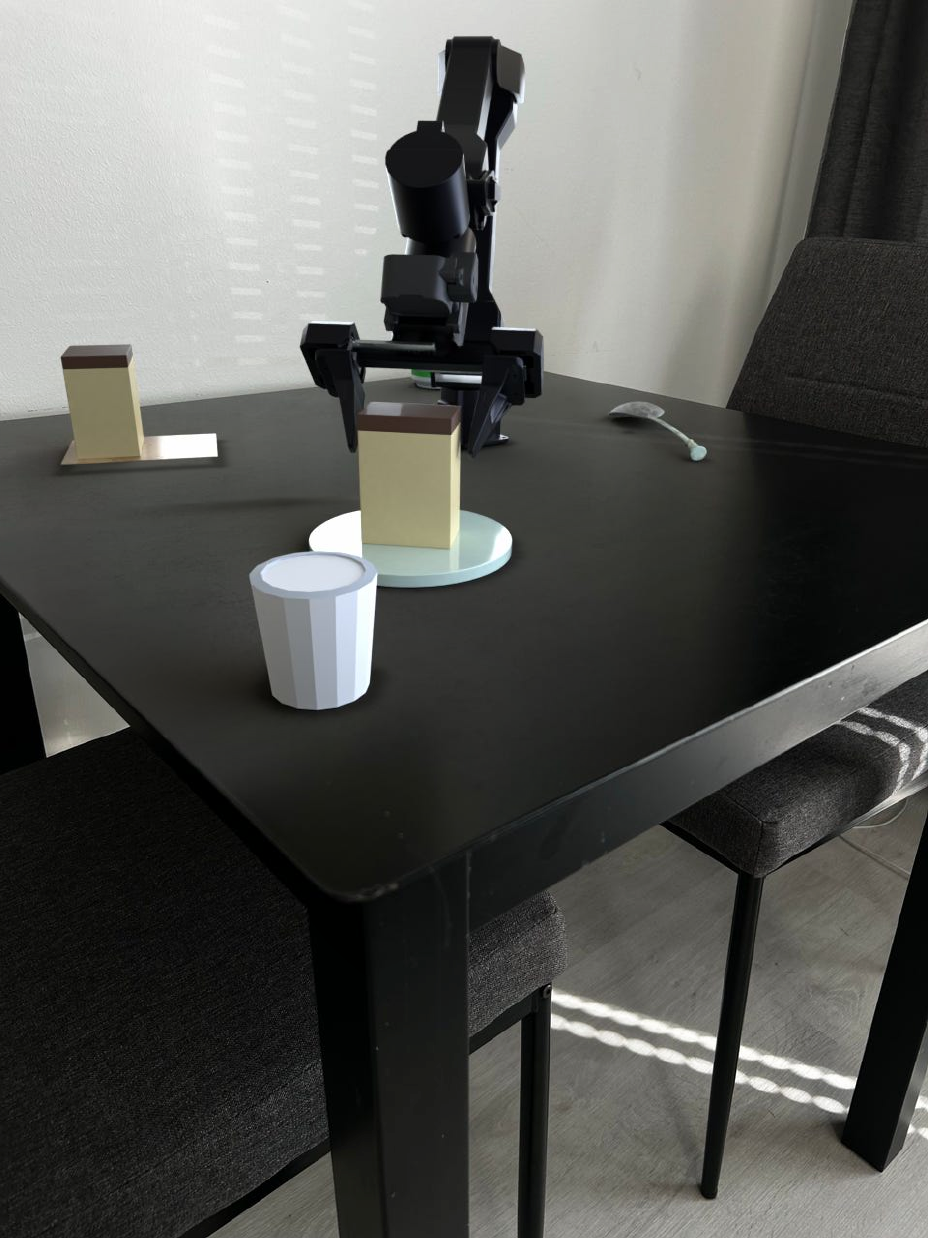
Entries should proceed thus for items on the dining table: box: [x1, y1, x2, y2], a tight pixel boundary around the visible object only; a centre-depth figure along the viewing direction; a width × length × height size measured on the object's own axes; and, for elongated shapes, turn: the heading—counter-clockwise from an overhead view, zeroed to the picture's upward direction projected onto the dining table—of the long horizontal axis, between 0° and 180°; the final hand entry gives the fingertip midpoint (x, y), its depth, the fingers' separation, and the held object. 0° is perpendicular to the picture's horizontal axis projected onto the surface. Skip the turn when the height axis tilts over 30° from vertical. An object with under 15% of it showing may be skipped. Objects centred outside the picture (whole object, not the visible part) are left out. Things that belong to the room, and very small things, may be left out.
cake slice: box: [357, 401, 461, 549], centre depth 70 cm, size 4×7×10 cm, turn 82°
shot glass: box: [248, 551, 377, 711], centre depth 51 cm, size 7×7×7 cm
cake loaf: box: [60, 343, 145, 459], centre depth 93 cm, size 6×7×10 cm
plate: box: [308, 509, 513, 589], centre depth 72 cm, size 16×16×1 cm
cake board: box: [60, 433, 219, 466], centre depth 96 cm, size 15×10×1 cm, turn 105°
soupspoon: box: [608, 401, 707, 462], centre depth 107 cm, size 22×3×7 cm
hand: (410, 453), depth 69 cm, fingers open, 9 cm apart
